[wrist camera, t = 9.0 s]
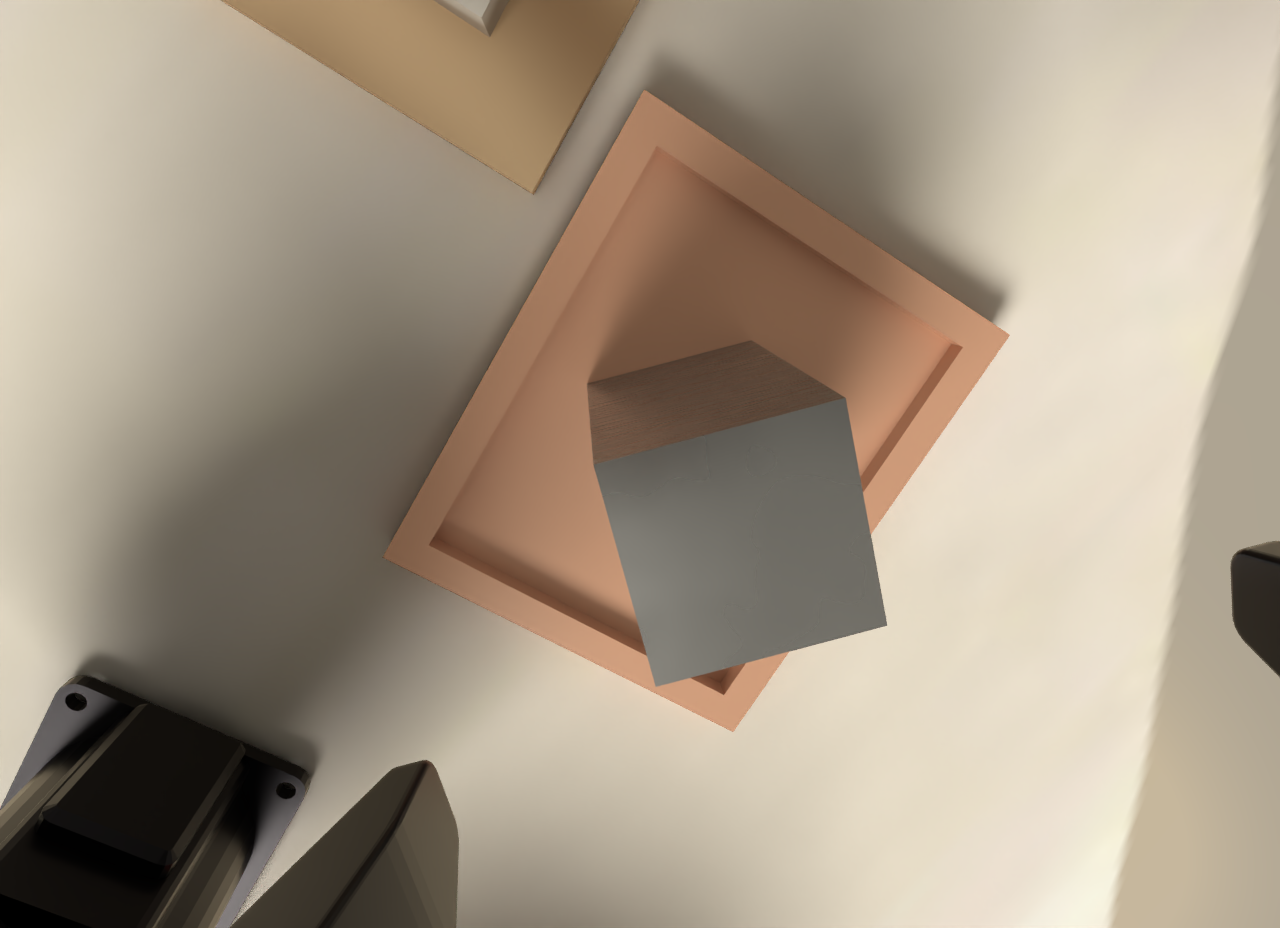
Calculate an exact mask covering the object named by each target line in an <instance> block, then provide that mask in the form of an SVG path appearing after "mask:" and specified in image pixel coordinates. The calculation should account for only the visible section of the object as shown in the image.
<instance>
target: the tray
mask: <svg viewBox="0 0 1280 928" xmlns="http://www.w3.org/2000/svg"><path fill="white" fill-rule="evenodd" d="M1009 336H1010V335H1009V334H1008V333H1006V332H1005V331H1003V330H1002V329H1000V328H999V327H997V326H996V325H994V324H993V323H991V322H990V321H988V320H987V319H985V318H984V317H982V316H981V315H979V314H978V313H976V312H975V311H973V310H972V309H970V308H969V307H967V306H966V305H964V304H963V303H961V302H960V301H958V300H957V299H955V298H954V297H953V296H951V295H950V294H948V293H947V292H945V291H944V290H942V289H941V288H939V287H938V286H936V285H935V284H933V283H932V282H930V281H929V280H927V279H926V278H924V277H923V276H921V275H920V274H918V273H917V272H915V271H914V270H912V269H911V268H909V267H908V266H906V265H905V264H903V263H902V262H900V261H899V260H897V259H896V258H894V257H893V256H891V255H890V254H889V253H887V252H886V251H884V250H883V249H881V248H880V247H878V246H877V245H875V244H874V243H872V242H871V241H869V240H868V239H866V238H865V237H863V236H862V235H860V234H859V233H857V232H856V231H854V230H853V229H851V228H850V227H848V226H847V225H845V224H844V223H842V222H841V221H839V220H838V219H836V218H835V217H833V216H832V215H830V214H829V213H828V212H826V211H825V210H823V209H822V208H820V207H819V206H817V205H816V204H814V203H813V202H811V201H810V200H808V199H807V198H805V197H804V196H802V195H801V194H799V193H798V192H796V191H795V190H793V189H792V188H790V187H789V186H787V185H786V184H784V183H783V182H781V181H780V180H778V179H777V178H775V177H774V176H772V175H771V174H769V173H768V172H766V171H765V170H764V169H762V168H761V167H759V166H758V165H756V164H755V163H753V162H752V161H750V160H749V159H747V158H746V157H744V156H743V155H741V154H740V153H738V152H737V151H735V150H734V149H732V148H731V147H729V146H728V145H726V144H725V143H723V142H722V141H720V140H719V139H717V138H716V137H714V136H713V135H711V134H710V133H708V132H707V131H705V130H704V129H703V128H701V127H700V126H698V125H697V124H695V123H694V122H692V121H691V120H689V119H688V118H686V117H685V116H683V115H682V114H680V113H679V112H677V111H676V110H674V109H673V108H671V107H670V106H668V105H667V104H665V103H664V102H662V101H661V100H659V99H658V98H656V97H655V96H653V95H652V94H650V93H649V92H647V91H646V90H644V91H643V92H642V94H641V96H640V98H639V100H638V101H637V103H636V105H635V107H634V109H633V110H632V112H631V114H630V116H629V117H628V119H627V121H626V123H625V125H624V126H623V128H622V130H621V132H620V134H619V135H618V137H617V139H616V141H615V143H614V144H613V146H612V148H611V150H610V151H609V153H608V155H607V157H606V159H605V160H604V162H603V164H602V166H601V168H600V169H599V171H598V173H597V175H596V176H595V178H594V180H593V182H592V184H591V185H590V187H589V189H588V191H587V193H586V194H585V196H584V198H583V200H582V202H581V203H580V205H579V207H578V209H577V210H576V212H575V214H574V216H573V218H572V219H571V221H570V223H569V225H568V227H567V228H566V230H565V232H564V234H563V235H562V237H561V239H560V241H559V243H558V244H557V246H556V248H555V250H554V252H553V253H552V255H551V257H550V259H549V261H548V262H547V264H546V266H545V268H544V269H543V271H542V273H541V275H540V277H539V278H538V280H537V282H536V284H535V286H534V287H533V289H532V291H531V293H530V294H529V296H528V298H527V300H526V302H525V303H524V305H523V307H522V309H521V311H520V312H519V314H518V316H517V318H516V320H515V321H514V323H513V325H512V327H511V328H510V330H509V332H508V334H507V336H506V337H505V339H504V341H503V343H502V345H501V346H500V348H499V350H498V352H497V353H496V355H495V357H494V359H493V361H492V362H491V364H490V366H489V368H488V370H487V371H486V373H485V375H484V377H483V379H482V380H481V382H480V384H479V386H478V387H477V389H476V391H475V393H474V395H473V396H472V398H471V400H470V402H469V404H468V405H467V407H466V409H465V411H464V412H463V414H462V416H461V418H460V420H459V421H458V423H457V425H456V427H455V429H454V430H453V432H452V434H451V436H450V438H449V439H448V441H447V443H446V445H445V446H444V448H443V450H442V452H441V454H440V455H439V457H438V459H437V461H436V463H435V464H434V466H433V468H432V470H431V471H430V473H429V475H428V477H427V479H426V480H425V482H424V484H423V486H422V488H421V489H420V491H419V493H418V495H417V497H416V498H415V500H414V502H413V504H412V505H411V507H410V509H409V511H408V513H407V514H406V516H405V518H404V520H403V522H402V523H401V525H400V527H399V529H398V530H397V532H396V534H395V536H394V538H393V539H392V541H391V543H390V545H389V547H388V548H387V550H386V552H385V554H384V556H383V558H385V559H387V560H389V561H391V562H393V563H395V564H397V565H399V566H401V567H403V568H405V569H407V570H409V571H411V572H413V573H415V574H417V575H419V576H421V577H423V578H425V579H427V580H429V581H431V582H433V583H435V584H437V585H439V586H441V587H443V588H445V589H447V590H449V591H451V592H453V593H455V594H457V595H459V596H461V597H463V598H465V599H467V600H469V601H471V602H473V603H475V604H477V605H479V606H481V607H483V608H485V609H487V610H489V611H491V612H493V613H495V614H497V615H499V616H501V617H503V618H505V619H507V620H509V621H511V622H513V623H515V624H517V625H519V626H521V627H523V628H525V629H527V630H529V631H531V632H533V633H535V634H537V635H539V636H541V637H543V638H545V639H547V640H549V641H551V642H553V643H555V644H557V645H560V646H562V647H564V648H566V649H568V650H570V651H572V652H574V653H576V654H578V655H580V656H582V657H584V658H586V659H588V660H590V661H592V662H594V663H596V664H598V665H600V666H602V667H604V668H606V669H608V670H610V671H612V672H614V673H616V674H618V675H620V676H622V677H624V678H626V679H628V680H630V681H632V682H634V683H636V684H638V685H640V686H642V687H644V688H646V689H648V690H650V691H652V692H654V693H656V694H658V695H660V696H662V697H664V698H666V699H668V700H670V701H672V702H674V703H676V704H678V705H680V706H682V707H684V708H686V709H688V710H690V711H692V712H694V713H696V714H698V715H700V716H702V717H704V718H706V719H708V720H710V721H712V722H714V723H716V724H718V725H720V726H722V727H724V728H726V729H728V730H730V731H732V732H733V731H734V730H735V728H736V727H737V726H738V724H739V723H740V721H741V720H742V718H743V717H744V716H745V714H746V713H747V711H748V710H749V708H750V707H751V706H752V704H753V703H754V701H755V700H756V698H757V697H758V696H759V694H760V693H761V691H762V690H763V688H764V687H765V685H766V684H767V683H768V681H769V680H770V678H771V677H772V675H773V674H774V673H775V671H776V670H777V668H778V667H779V665H780V664H781V663H782V661H783V660H784V658H785V657H786V655H787V654H788V653H789V652H786V653H782V654H778V655H774V656H771V657H767V658H763V659H759V660H755V661H752V662H748V663H744V664H740V665H737V666H733V667H729V668H725V669H722V670H718V671H714V672H710V673H707V674H703V675H699V676H695V677H692V678H688V679H684V680H680V681H676V682H673V683H669V684H665V685H661V686H658V687H656V686H655V683H654V679H653V675H652V672H651V668H650V665H649V661H648V658H647V654H646V650H645V647H644V643H643V640H642V636H641V633H640V629H639V626H638V622H637V618H636V615H635V611H634V608H633V604H632V601H631V597H630V593H629V590H628V586H627V583H626V579H625V576H624V572H623V568H622V565H621V561H620V558H619V554H618V551H617V547H616V543H615V540H614V536H613V533H612V529H611V526H610V522H609V518H608V515H607V511H606V508H605V504H604V501H603V497H602V493H601V490H600V486H599V483H598V479H597V476H596V472H595V469H594V465H593V454H592V441H591V429H590V417H589V404H588V392H587V383H591V382H594V381H598V380H602V379H606V378H610V377H613V376H617V375H621V374H625V373H628V372H632V371H636V370H640V369H644V368H647V367H651V366H655V365H659V364H663V363H666V362H670V361H674V360H678V359H682V358H685V357H689V356H693V355H697V354H701V353H704V352H708V351H712V350H716V349H719V348H723V347H727V346H731V345H735V344H738V343H742V342H746V341H750V340H752V341H754V342H755V343H757V344H758V345H760V346H762V347H763V348H765V349H767V350H768V351H770V352H772V353H773V354H775V355H776V356H778V357H780V358H781V359H783V360H785V361H786V362H788V363H790V364H791V365H793V366H794V367H796V368H798V369H799V370H801V371H803V372H804V373H806V374H808V375H809V376H811V377H812V378H814V379H816V380H817V381H819V382H821V383H822V384H824V385H826V386H827V387H829V388H830V389H832V390H834V391H835V392H837V393H839V394H840V395H842V396H844V397H845V398H846V402H847V408H848V413H849V419H850V424H851V430H852V435H853V440H854V446H855V451H856V457H857V462H858V468H859V473H860V479H861V484H862V490H863V495H864V501H865V506H866V512H867V517H868V523H869V528H870V534H872V532H873V531H874V529H875V528H876V526H877V525H878V523H879V522H880V521H881V519H882V518H883V516H884V515H885V513H886V512H887V511H888V509H889V508H890V506H891V505H892V503H893V502H894V501H895V499H896V498H897V496H898V495H899V493H900V492H901V491H902V489H903V488H904V486H905V485H906V483H907V482H908V480H909V479H910V478H911V476H912V475H913V473H914V472H915V470H916V469H917V468H918V466H919V465H920V463H921V462H922V460H923V459H924V458H925V456H926V455H927V453H928V452H929V450H930V449H931V448H932V446H933V445H934V443H935V442H936V440H937V439H938V437H939V436H940V435H941V433H942V432H943V430H944V429H945V427H946V426H947V425H948V423H949V422H950V420H951V419H952V417H953V416H954V415H955V413H956V412H957V410H958V409H959V407H960V406H961V405H962V403H963V402H964V400H965V399H966V397H967V396H968V394H969V393H970V392H971V390H972V389H973V387H974V386H975V384H976V383H977V382H978V380H979V379H980V377H981V376H982V374H983V373H984V372H985V370H986V369H987V367H988V366H989V364H990V363H991V362H992V360H993V359H994V357H995V356H996V354H997V353H998V351H999V350H1000V349H1001V347H1002V346H1003V344H1004V343H1005V341H1006V340H1007V339H1008V337H1009Z"/></svg>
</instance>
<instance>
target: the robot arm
mask: <svg viewBox="0 0 1280 928" xmlns="http://www.w3.org/2000/svg"><path fill="white" fill-rule="evenodd" d="M1231 591H1232V616H1233V621H1234V625H1235V628H1236V630H1237V631H1238V633H1239V635H1240V636H1241V638H1242V639H1243V640H1244V642H1245V643H1246V644H1247V645H1248V646H1249V647H1250V648H1251V649H1252V650H1253V651H1254V652H1255V653H1256V654H1257V655H1258V656H1259V657H1260V658H1261V659H1262V660H1263V661H1264V662H1265V663H1266V664H1267V665H1268V666H1269V667H1270V668H1271V669H1272V670H1273V671H1274V672H1275V673H1276V674H1277V675H1278V676H1279V677H1280V541H1272V542H1266V543H1263V544H1259V545H1255V546H1251V547H1247V548H1244V549H1241V550H1239V551H1237V552H1236V553H1235V554H1234V556H1233V558H1232V560H1231ZM75 693H79V694H81V695H83V696H84V697H85V698H86V700H87V702H83V701H80V700H79V699H78V698H77V697H76V695H75ZM284 782H287V783H291V784H292V785H293V786H294V787H295V789H288V788H286V787H284V786H283V785H282V783H284ZM309 785H310V777H309V775H308V774H307V772H306V771H305V770H304V769H302V768H301V767H299V766H297V765H295V764H292V763H290V762H288V761H285V760H283V759H281V758H278V757H276V756H274V755H271V754H269V753H267V752H264V751H262V750H260V749H257V748H255V747H253V746H250V745H248V744H246V743H243V742H241V741H239V740H237V739H234V738H232V737H230V736H227V735H225V734H223V733H220V732H218V731H216V730H213V729H211V728H209V727H206V726H204V725H202V724H199V723H197V722H195V721H192V720H190V719H188V718H186V717H183V716H181V715H179V714H176V713H174V712H172V711H169V710H167V709H165V708H162V707H160V706H158V705H155V704H153V703H151V702H148V701H146V700H144V699H141V698H139V697H137V696H134V695H132V694H130V693H128V692H125V691H123V690H121V689H118V688H116V687H114V686H111V685H109V684H107V683H104V682H102V681H100V680H97V679H95V678H93V677H89V676H76V677H74V678H72V679H70V680H69V681H68V682H67V683H65V684H64V685H63V686H62V687H61V688H60V689H59V690H58V691H57V693H56V694H55V696H54V698H53V700H52V702H51V705H50V707H49V709H48V711H47V713H46V715H45V717H44V719H43V721H42V723H41V725H40V727H39V729H38V731H37V734H36V736H35V738H34V740H33V742H32V744H31V746H30V748H29V750H28V752H27V754H26V756H25V758H24V760H23V762H22V765H21V767H20V769H19V771H18V773H17V775H16V777H15V779H14V781H13V783H12V785H11V787H10V789H9V791H8V794H7V796H6V798H5V800H4V802H3V804H2V806H1V808H0V928H229V927H230V925H231V924H232V922H233V920H234V919H235V917H236V915H237V913H238V912H239V910H240V908H241V906H242V905H243V903H244V901H245V899H246V898H247V896H248V894H249V893H250V891H251V889H252V887H253V886H254V884H255V882H256V880H257V879H258V877H259V875H260V873H261V872H262V870H263V868H264V867H265V865H266V863H267V861H268V860H269V858H270V856H271V854H272V853H273V851H274V849H275V847H276V846H277V844H278V842H279V841H280V839H281V837H282V835H283V834H284V832H285V830H286V828H287V827H288V825H289V823H290V821H291V820H292V818H293V816H294V815H295V813H296V811H297V809H298V808H299V806H300V804H301V802H302V801H303V799H304V797H305V795H306V793H307V791H308V789H309ZM458 853H459V838H458V830H457V825H456V821H455V818H454V815H453V812H452V810H451V807H450V804H449V802H448V799H447V796H446V794H445V791H444V788H443V786H442V783H441V780H440V778H439V775H438V772H437V770H436V768H435V767H434V765H433V764H432V763H431V762H430V761H427V760H422V761H418V762H414V763H410V764H406V765H402V766H398V767H395V768H393V769H392V770H390V771H389V772H388V773H387V774H386V775H385V776H384V777H383V778H382V779H381V780H380V781H379V782H378V783H377V784H376V785H375V786H374V787H373V788H372V789H371V790H370V791H369V792H368V793H367V794H366V795H365V796H364V797H363V798H362V799H361V800H360V801H359V802H357V803H356V804H355V805H354V806H353V807H352V808H351V809H350V810H349V811H348V812H347V813H346V814H345V815H344V816H343V817H342V818H341V819H340V820H339V821H338V822H337V823H336V824H335V825H334V826H333V827H332V828H331V829H330V830H329V831H328V832H327V833H326V834H325V835H324V836H323V837H322V838H321V839H320V840H319V841H318V842H317V843H316V844H314V845H313V846H312V847H311V848H310V849H309V850H308V851H307V852H306V853H305V854H304V855H303V856H302V857H301V858H300V859H299V860H298V861H297V862H296V863H295V864H294V865H293V866H292V867H291V868H290V869H289V870H288V871H287V872H286V873H285V874H284V875H283V876H282V877H281V878H280V879H279V880H278V881H277V882H276V883H275V884H274V885H273V886H271V887H270V888H269V889H268V890H267V891H266V892H265V893H264V894H263V895H262V896H261V897H260V898H259V899H258V900H257V901H256V902H255V903H254V904H253V905H252V906H251V907H250V908H249V909H248V910H247V911H246V912H245V913H244V914H243V915H242V916H241V917H240V918H239V919H238V920H237V921H236V922H235V923H234V924H233V925H232V926H231V927H230V928H456V918H457V885H458Z"/></svg>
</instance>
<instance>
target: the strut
mask: <svg viewBox="0 0 1280 928" xmlns="http://www.w3.org/2000/svg"><path fill="white" fill-rule="evenodd" d="M587 392H588V404H589V417H590V429H591V441H592V454H593V465H594V469H595V472H596V476H597V479H598V483H599V486H600V490H601V493H602V497H603V501H604V504H605V508H606V511H607V515H608V518H609V522H610V526H611V529H612V533H613V536H614V540H615V543H616V547H617V551H618V554H619V558H620V561H621V565H622V568H623V572H624V576H625V579H626V583H627V586H628V590H629V593H630V597H631V601H632V604H633V608H634V611H635V615H636V618H637V622H638V626H639V629H640V633H641V636H642V640H643V643H644V647H645V650H646V654H647V658H648V661H649V665H650V668H651V672H652V675H653V679H654V683H655V686H656V687H658V686H661V685H665V684H669V683H673V682H676V681H680V680H684V679H688V678H692V677H695V676H699V675H703V674H707V673H710V672H714V671H718V670H722V669H725V668H729V667H733V666H737V665H740V664H744V663H748V662H752V661H755V660H759V659H763V658H767V657H771V656H774V655H778V654H782V653H786V652H789V651H793V650H797V649H801V648H804V647H808V646H812V645H816V644H819V643H823V642H827V641H831V640H834V639H838V638H842V637H846V636H850V635H853V634H857V633H861V632H865V631H868V630H872V629H876V628H880V627H883V626H887V622H886V616H885V611H884V605H883V600H882V594H881V589H880V583H879V578H878V572H877V567H876V561H875V556H874V550H873V545H872V539H871V534H870V528H869V523H868V517H867V512H866V506H865V501H864V495H863V490H862V484H861V479H860V473H859V468H858V462H857V457H856V451H855V446H854V440H853V435H852V430H851V424H850V419H849V413H848V408H847V402H846V398H845V397H844V396H842V395H840V394H839V393H837V392H835V391H834V390H832V389H830V388H829V387H827V386H826V385H824V384H822V383H821V382H819V381H817V380H816V379H814V378H812V377H811V376H809V375H808V374H806V373H804V372H803V371H801V370H799V369H798V368H796V367H794V366H793V365H791V364H790V363H788V362H786V361H785V360H783V359H781V358H780V357H778V356H776V355H775V354H773V353H772V352H770V351H768V350H767V349H765V348H763V347H762V346H760V345H758V344H757V343H755V342H754V341H752V340H750V341H746V342H742V343H738V344H735V345H731V346H727V347H723V348H719V349H716V350H712V351H708V352H704V353H701V354H697V355H693V356H689V357H685V358H682V359H678V360H674V361H670V362H666V363H663V364H659V365H655V366H651V367H647V368H644V369H640V370H636V371H632V372H628V373H625V374H621V375H617V376H613V377H610V378H606V379H602V380H598V381H594V382H591V383H587Z"/></svg>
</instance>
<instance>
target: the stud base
mask: <svg viewBox="0 0 1280 928" xmlns="http://www.w3.org/2000/svg"><path fill="white" fill-rule="evenodd" d="M221 1H223V2H224V3H226V4H228V5H229V6H231V7H232V8H234V9H236V10H237V11H239V12H240V13H242V14H244V15H245V16H247V17H249V18H250V19H252V20H253V21H255V22H257V23H258V24H260V25H261V26H263V27H265V28H266V29H268V30H269V31H271V32H273V33H274V34H276V35H278V36H279V37H281V38H282V39H284V40H286V41H287V42H289V43H290V44H292V45H294V46H295V47H297V48H298V49H300V50H302V51H303V52H305V53H306V54H308V55H310V56H311V57H313V58H315V59H316V60H318V61H319V62H321V63H323V64H324V65H326V66H327V67H329V68H331V69H332V70H334V71H335V72H337V73H339V74H340V75H342V76H344V77H345V78H347V79H348V80H350V81H352V82H353V83H355V84H356V85H358V86H360V87H361V88H363V89H364V90H366V91H368V92H369V93H371V94H372V95H374V96H376V97H377V98H379V99H381V100H382V101H384V102H385V103H387V104H389V105H390V106H392V107H393V108H395V109H397V110H398V111H400V112H401V113H403V114H405V115H406V116H408V117H410V118H411V119H413V120H414V121H416V122H418V123H419V124H421V125H422V126H424V127H426V128H427V129H429V130H430V131H432V132H434V133H435V134H437V135H438V136H440V137H442V138H443V139H445V140H447V141H448V142H450V143H451V144H453V145H455V146H456V147H458V148H459V149H461V150H463V151H464V152H466V153H467V154H469V155H471V156H472V157H474V158H475V159H477V160H479V161H480V162H482V163H484V164H485V165H487V166H488V167H490V168H492V169H493V170H495V171H496V172H498V173H500V174H501V175H503V176H504V177H506V178H508V179H509V180H511V181H513V182H514V183H516V184H517V185H519V186H521V187H522V188H524V189H525V190H527V191H529V192H530V193H532V194H533V195H534V193H535V191H536V189H537V188H538V186H539V184H540V182H541V180H542V178H543V177H544V175H545V173H546V171H547V169H548V167H549V166H550V164H551V162H552V160H553V158H554V156H555V155H556V153H557V151H558V149H559V147H560V145H561V144H562V142H563V140H564V138H565V136H566V134H567V133H568V131H569V129H570V127H571V125H572V123H573V122H574V120H575V118H576V116H577V114H578V112H579V111H580V109H581V107H582V105H583V103H584V101H585V100H586V98H587V96H588V94H589V92H590V90H591V89H592V87H593V85H594V83H595V81H596V79H597V78H598V76H599V74H600V72H601V70H602V68H603V67H604V65H605V63H606V61H607V59H608V57H609V56H610V54H611V52H612V50H613V48H614V46H615V45H616V43H617V41H618V39H619V37H620V35H621V34H622V32H623V30H624V28H625V26H626V24H627V23H628V21H629V19H630V17H631V15H632V13H633V12H634V10H635V8H636V6H637V4H638V2H639V1H640V0H221Z"/></svg>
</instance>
